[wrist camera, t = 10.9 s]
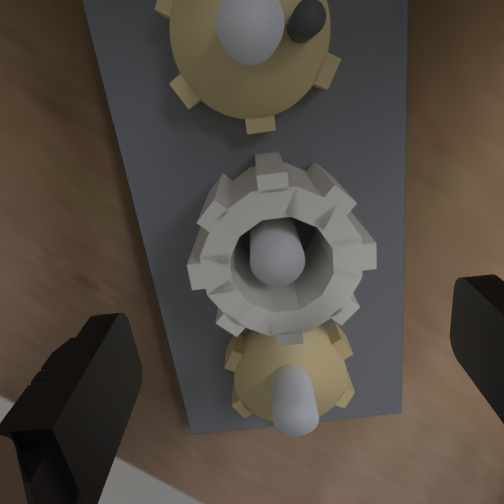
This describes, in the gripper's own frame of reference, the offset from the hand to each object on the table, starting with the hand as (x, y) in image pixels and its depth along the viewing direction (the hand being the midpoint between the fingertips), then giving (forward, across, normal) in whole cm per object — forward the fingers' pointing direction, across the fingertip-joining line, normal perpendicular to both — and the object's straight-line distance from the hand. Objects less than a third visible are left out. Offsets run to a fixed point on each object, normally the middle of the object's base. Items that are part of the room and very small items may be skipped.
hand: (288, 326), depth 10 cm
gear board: (+10, 0, 0) cm, 10 cm away
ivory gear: (+9, 0, 0) cm, 9 cm away
